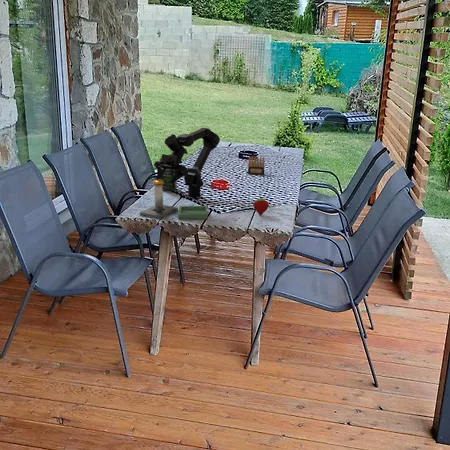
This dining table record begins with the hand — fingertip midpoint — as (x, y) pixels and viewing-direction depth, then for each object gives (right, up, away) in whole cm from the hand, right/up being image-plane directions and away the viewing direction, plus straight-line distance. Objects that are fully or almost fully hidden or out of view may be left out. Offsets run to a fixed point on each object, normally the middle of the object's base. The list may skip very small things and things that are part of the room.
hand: (164, 182), depth 267 cm
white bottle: (-2, -15, -4) cm, 16 cm away
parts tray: (+15, -17, -7) cm, 23 cm away
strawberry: (+48, -17, -6) cm, 51 cm away
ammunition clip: (+51, +11, +76) cm, 92 cm away
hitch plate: (-2, -15, -4) cm, 16 cm away
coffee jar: (-2, -1, +38) cm, 38 cm away
